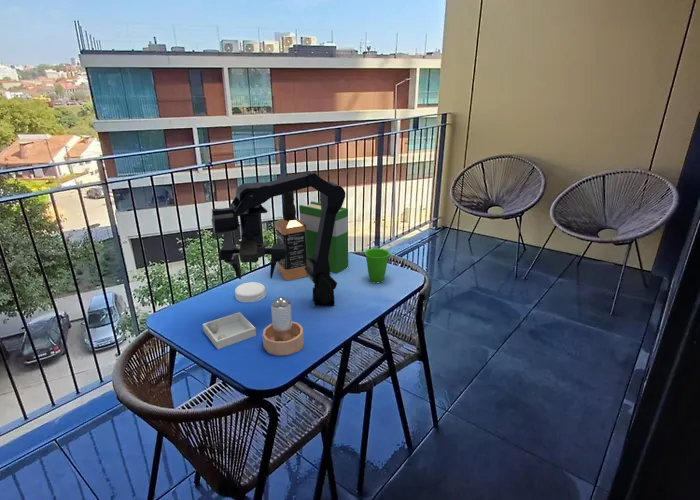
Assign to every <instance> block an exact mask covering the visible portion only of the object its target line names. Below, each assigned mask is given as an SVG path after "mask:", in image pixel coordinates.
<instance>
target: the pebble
mask: <svg viewBox="0 0 700 500" xmlns="http://www.w3.org/2000/svg"><path fill="white" fill-rule="evenodd" d="M209 329H210V331H211V332H212V333H214V332H216V331H217V330H218V326H217V325H216V324H212V325H211V326H210V327H209Z"/></svg>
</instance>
